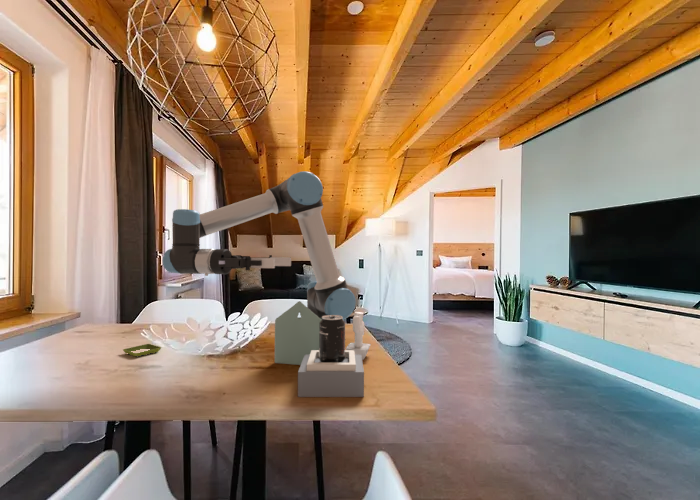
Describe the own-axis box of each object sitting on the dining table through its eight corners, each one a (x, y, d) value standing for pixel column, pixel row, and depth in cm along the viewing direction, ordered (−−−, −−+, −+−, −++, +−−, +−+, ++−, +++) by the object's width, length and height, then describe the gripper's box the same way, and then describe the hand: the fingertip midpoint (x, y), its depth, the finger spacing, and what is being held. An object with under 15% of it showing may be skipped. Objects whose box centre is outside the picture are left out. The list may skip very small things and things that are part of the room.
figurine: (371, 353, 117) (371, 310, 117) (366, 362, 108) (367, 315, 108) (351, 352, 118) (351, 309, 118) (344, 360, 109) (345, 314, 109)
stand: (304, 375, 96) (304, 349, 96) (361, 375, 96) (361, 349, 96) (297, 396, 82) (298, 365, 82) (363, 396, 82) (364, 365, 82)
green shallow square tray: (162, 353, 117) (162, 347, 117) (135, 360, 110) (135, 353, 110) (148, 349, 122) (148, 343, 122) (122, 355, 114) (122, 349, 114)
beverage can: (344, 358, 93) (344, 314, 93) (345, 366, 86) (345, 319, 86) (319, 358, 92) (319, 314, 92) (318, 367, 85) (318, 319, 85)
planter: (330, 359, 111) (331, 298, 111) (324, 367, 103) (324, 302, 103) (284, 355, 114) (284, 297, 114) (274, 363, 106) (274, 300, 107)
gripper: (235, 271, 114) (296, 272, 110) (189, 277, 89) (265, 278, 86) (235, 249, 114) (296, 249, 110) (189, 248, 89) (265, 249, 86)
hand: (283, 262), depth 98 cm, fingers open, 13 cm apart
